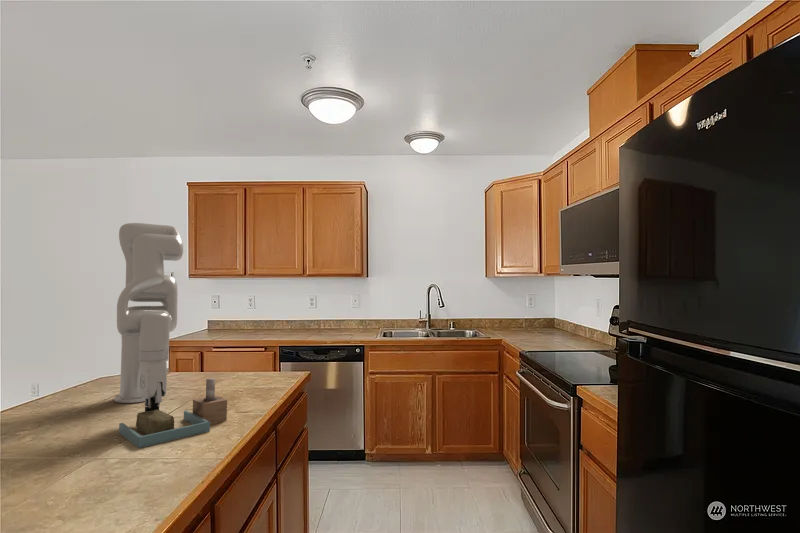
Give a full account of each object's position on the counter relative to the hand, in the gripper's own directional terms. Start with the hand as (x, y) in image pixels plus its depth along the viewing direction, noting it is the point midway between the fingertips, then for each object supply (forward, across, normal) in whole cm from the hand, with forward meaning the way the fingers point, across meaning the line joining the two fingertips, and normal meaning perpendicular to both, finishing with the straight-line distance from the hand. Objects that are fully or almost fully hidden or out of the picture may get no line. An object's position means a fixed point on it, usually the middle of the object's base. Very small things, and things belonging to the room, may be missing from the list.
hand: (151, 420), depth 128 cm
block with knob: (+1, +8, +13) cm, 15 cm away
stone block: (+1, +8, -2) cm, 8 cm away
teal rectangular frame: (+1, +10, 0) cm, 10 cm away
